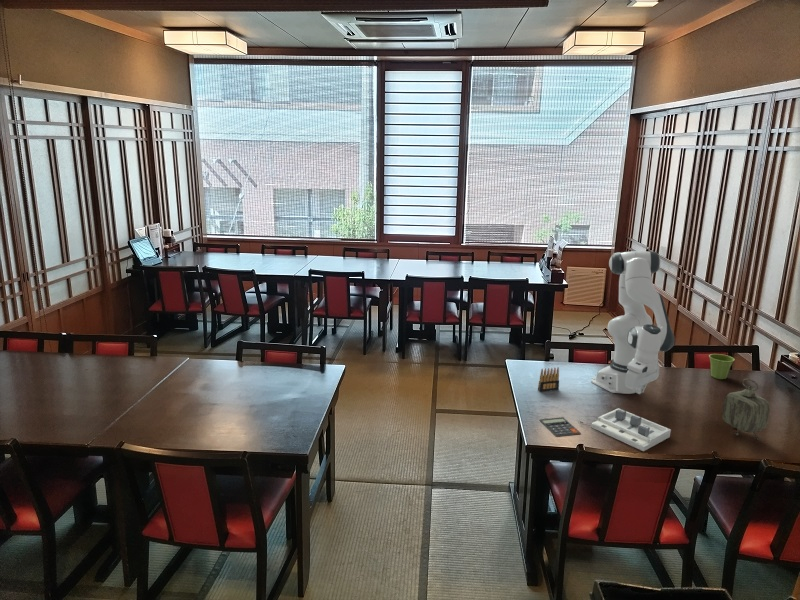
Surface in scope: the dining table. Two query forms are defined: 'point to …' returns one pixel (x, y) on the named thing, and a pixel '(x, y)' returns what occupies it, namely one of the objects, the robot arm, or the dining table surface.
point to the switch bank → (631, 430)
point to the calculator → (559, 426)
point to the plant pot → (720, 365)
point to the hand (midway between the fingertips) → (639, 392)
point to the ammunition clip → (549, 380)
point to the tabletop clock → (746, 410)
